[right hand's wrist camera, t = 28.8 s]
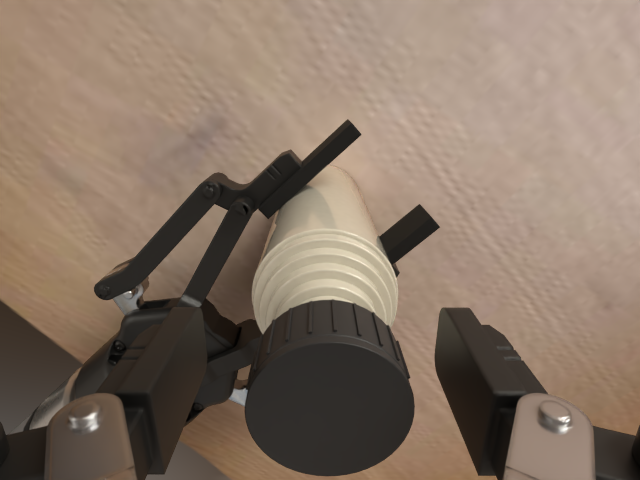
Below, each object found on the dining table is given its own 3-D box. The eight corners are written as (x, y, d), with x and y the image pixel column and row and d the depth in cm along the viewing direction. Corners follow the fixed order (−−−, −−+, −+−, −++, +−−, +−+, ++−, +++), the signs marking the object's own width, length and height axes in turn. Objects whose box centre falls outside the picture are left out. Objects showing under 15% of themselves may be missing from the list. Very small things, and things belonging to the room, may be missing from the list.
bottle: (377, 211, 29) (476, 406, 11) (314, 257, 30) (312, 501, 12) (328, 147, 28) (350, 253, 10) (264, 198, 29) (176, 379, 11)
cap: (418, 394, 13) (437, 451, 11) (287, 434, 13) (282, 495, 11) (374, 276, 11) (386, 316, 9) (229, 326, 12) (212, 374, 10)
